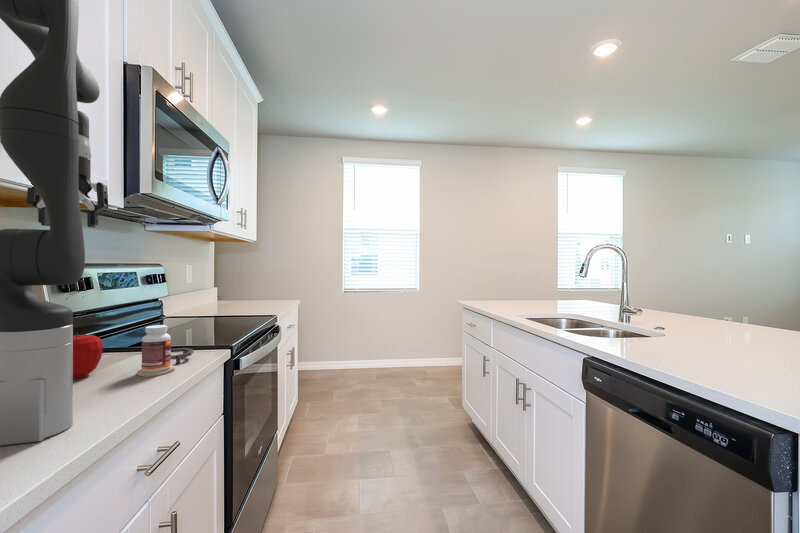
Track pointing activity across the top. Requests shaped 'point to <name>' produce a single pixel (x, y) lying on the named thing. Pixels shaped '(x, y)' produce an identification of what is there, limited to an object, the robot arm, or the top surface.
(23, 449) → the top surface
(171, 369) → the cork coaster
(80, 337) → the apple
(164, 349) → the pill bottle
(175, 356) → the ring stand
